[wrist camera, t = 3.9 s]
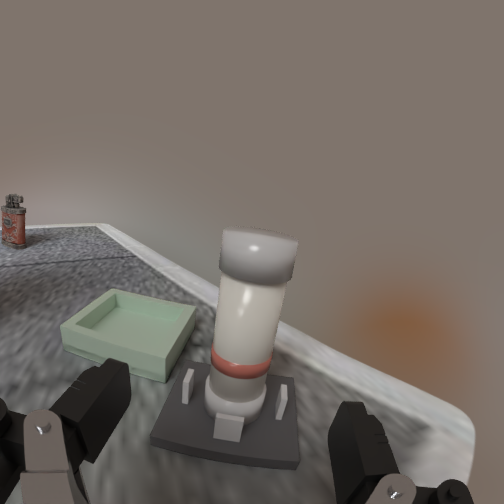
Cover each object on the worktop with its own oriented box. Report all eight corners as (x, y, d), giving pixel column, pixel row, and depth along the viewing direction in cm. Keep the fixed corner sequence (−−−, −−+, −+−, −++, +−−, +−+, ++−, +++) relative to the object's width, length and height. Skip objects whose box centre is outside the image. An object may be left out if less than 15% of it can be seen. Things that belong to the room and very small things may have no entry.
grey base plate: (150, 444, 15) (147, 414, 14) (185, 368, 23) (186, 339, 23) (295, 469, 14) (308, 442, 14) (290, 386, 23) (298, 358, 22)
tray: (63, 349, 21) (60, 325, 21) (112, 308, 31) (112, 288, 30) (165, 383, 21) (165, 358, 20) (194, 327, 31) (196, 306, 30)
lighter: (-2, 243, 43) (-2, 193, 40) (10, 240, 46) (10, 192, 44) (17, 250, 41) (17, 196, 39) (29, 247, 45) (30, 195, 42)
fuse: (198, 419, 17) (217, 234, 14) (209, 383, 21) (229, 223, 18) (259, 429, 16) (302, 248, 14) (262, 392, 20) (295, 234, 18)
